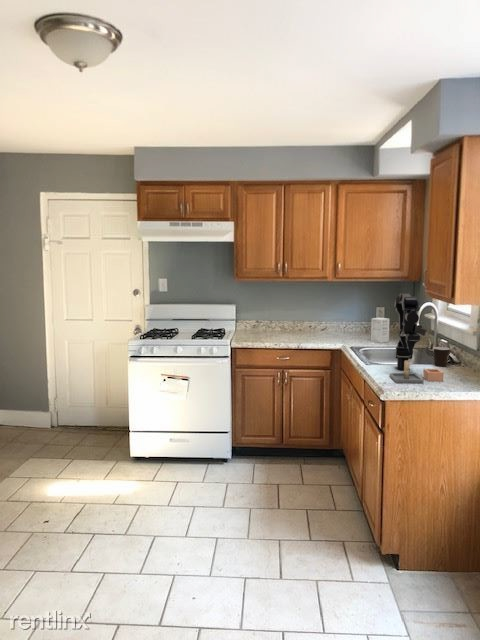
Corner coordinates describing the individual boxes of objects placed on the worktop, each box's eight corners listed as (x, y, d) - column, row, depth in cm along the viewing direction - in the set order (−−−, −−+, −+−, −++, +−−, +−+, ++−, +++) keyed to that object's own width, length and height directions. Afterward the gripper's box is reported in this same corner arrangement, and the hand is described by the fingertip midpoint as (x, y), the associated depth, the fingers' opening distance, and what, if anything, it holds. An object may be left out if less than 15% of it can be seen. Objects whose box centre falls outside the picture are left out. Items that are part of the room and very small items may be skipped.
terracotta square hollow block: (423, 377, 252) (423, 368, 251) (437, 377, 251) (438, 369, 251) (427, 381, 244) (428, 372, 244) (443, 381, 244) (443, 372, 244)
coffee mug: (443, 368, 272) (444, 350, 271) (429, 365, 279) (430, 348, 278) (454, 365, 279) (455, 348, 278) (441, 362, 286) (441, 345, 284)
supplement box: (389, 341, 354) (390, 318, 352) (381, 343, 348) (382, 319, 346) (378, 339, 362) (378, 317, 359) (370, 341, 356) (371, 318, 354)
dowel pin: (403, 377, 248) (403, 360, 247) (407, 378, 248) (408, 360, 246) (404, 379, 245) (405, 361, 244) (409, 379, 245) (410, 361, 244)
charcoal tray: (389, 376, 253) (389, 372, 253) (415, 377, 253) (415, 373, 252) (396, 383, 240) (396, 379, 240) (423, 383, 240) (423, 379, 240)
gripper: (431, 323, 242) (429, 355, 244) (419, 318, 260) (418, 347, 263) (408, 323, 242) (407, 354, 244) (398, 318, 261) (396, 347, 263)
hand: (407, 351), depth 254 cm, fingers open, 9 cm apart
